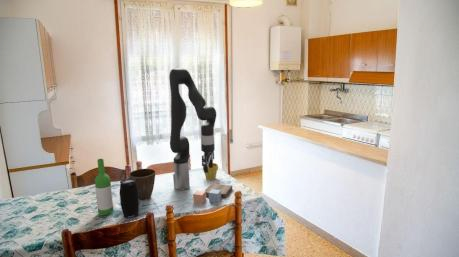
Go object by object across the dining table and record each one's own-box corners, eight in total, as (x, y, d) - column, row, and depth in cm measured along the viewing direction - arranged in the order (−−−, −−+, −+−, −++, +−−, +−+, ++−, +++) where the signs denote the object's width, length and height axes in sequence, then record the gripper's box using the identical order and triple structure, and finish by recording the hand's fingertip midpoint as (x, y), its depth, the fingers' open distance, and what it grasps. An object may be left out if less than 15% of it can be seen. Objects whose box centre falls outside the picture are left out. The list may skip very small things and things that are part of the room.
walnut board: (203, 195, 192) (203, 191, 191) (211, 187, 205) (211, 183, 205) (225, 198, 188) (225, 194, 187) (232, 189, 201) (232, 185, 200)
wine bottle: (108, 208, 178) (103, 156, 172) (116, 212, 173) (111, 158, 167) (95, 213, 172) (89, 159, 166) (103, 217, 167) (97, 162, 161)
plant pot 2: (211, 182, 214) (211, 168, 212) (200, 179, 220) (199, 165, 218) (221, 177, 222) (220, 164, 220) (210, 174, 228) (209, 161, 226)
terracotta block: (193, 203, 182) (193, 194, 181) (197, 199, 188) (196, 190, 186) (202, 204, 181) (202, 195, 180) (206, 200, 186) (205, 191, 185)
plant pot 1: (150, 204, 182) (148, 177, 179) (126, 202, 185) (124, 176, 182) (161, 194, 196) (159, 169, 193) (138, 192, 199) (136, 168, 196)
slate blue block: (209, 201, 184) (208, 192, 183) (212, 197, 189) (212, 189, 188) (218, 202, 182) (217, 193, 181) (221, 198, 187) (220, 190, 186)
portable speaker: (118, 217, 167) (115, 181, 164) (132, 210, 175) (128, 176, 171) (130, 220, 163) (126, 184, 159) (143, 213, 171) (140, 178, 167)
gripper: (205, 139, 187) (206, 165, 190) (196, 145, 174) (197, 173, 177) (217, 139, 185) (218, 166, 188) (209, 146, 172) (210, 174, 175)
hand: (208, 170), depth 183 cm, fingers open, 8 cm apart
